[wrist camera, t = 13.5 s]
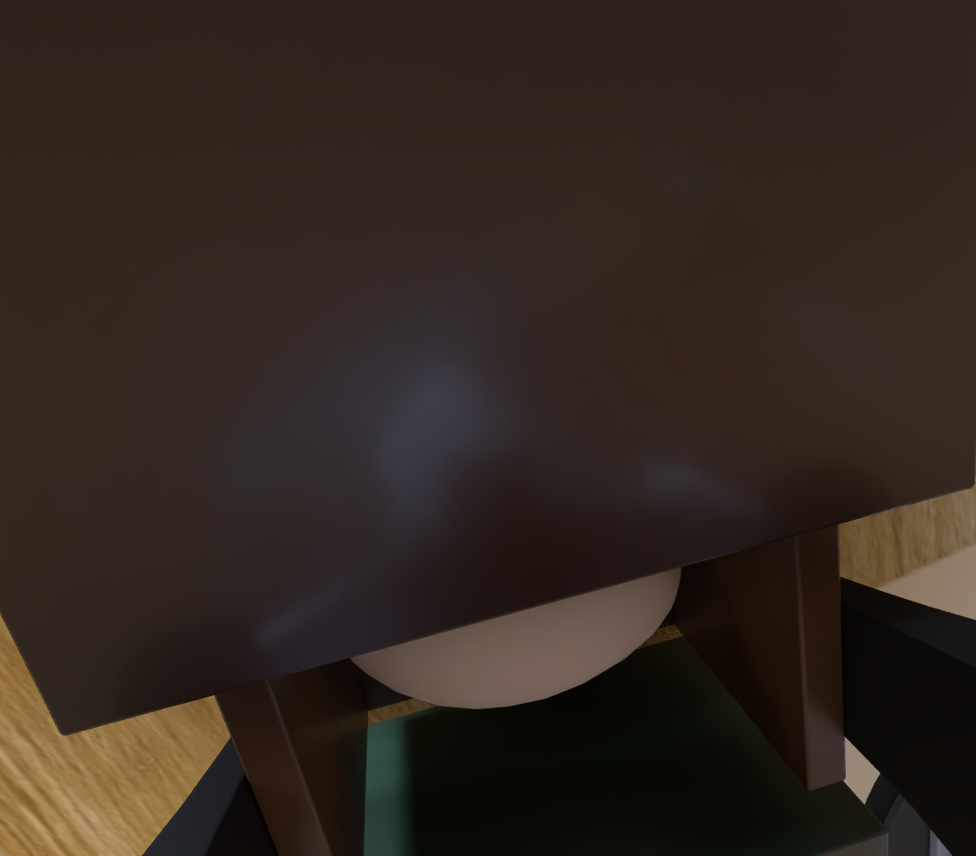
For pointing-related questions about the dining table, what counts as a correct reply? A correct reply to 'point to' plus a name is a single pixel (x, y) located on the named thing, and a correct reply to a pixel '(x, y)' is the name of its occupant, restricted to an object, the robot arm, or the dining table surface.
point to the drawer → (590, 741)
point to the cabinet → (456, 312)
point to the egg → (527, 648)
